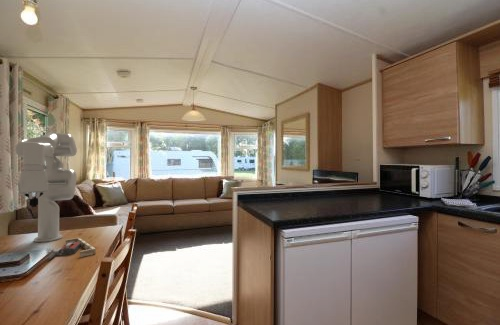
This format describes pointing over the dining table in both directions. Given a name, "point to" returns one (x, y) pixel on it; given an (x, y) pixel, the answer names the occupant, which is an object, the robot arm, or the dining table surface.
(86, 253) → the beige segmented bracket
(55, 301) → the dining table surface
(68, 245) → the walkie-talkie
